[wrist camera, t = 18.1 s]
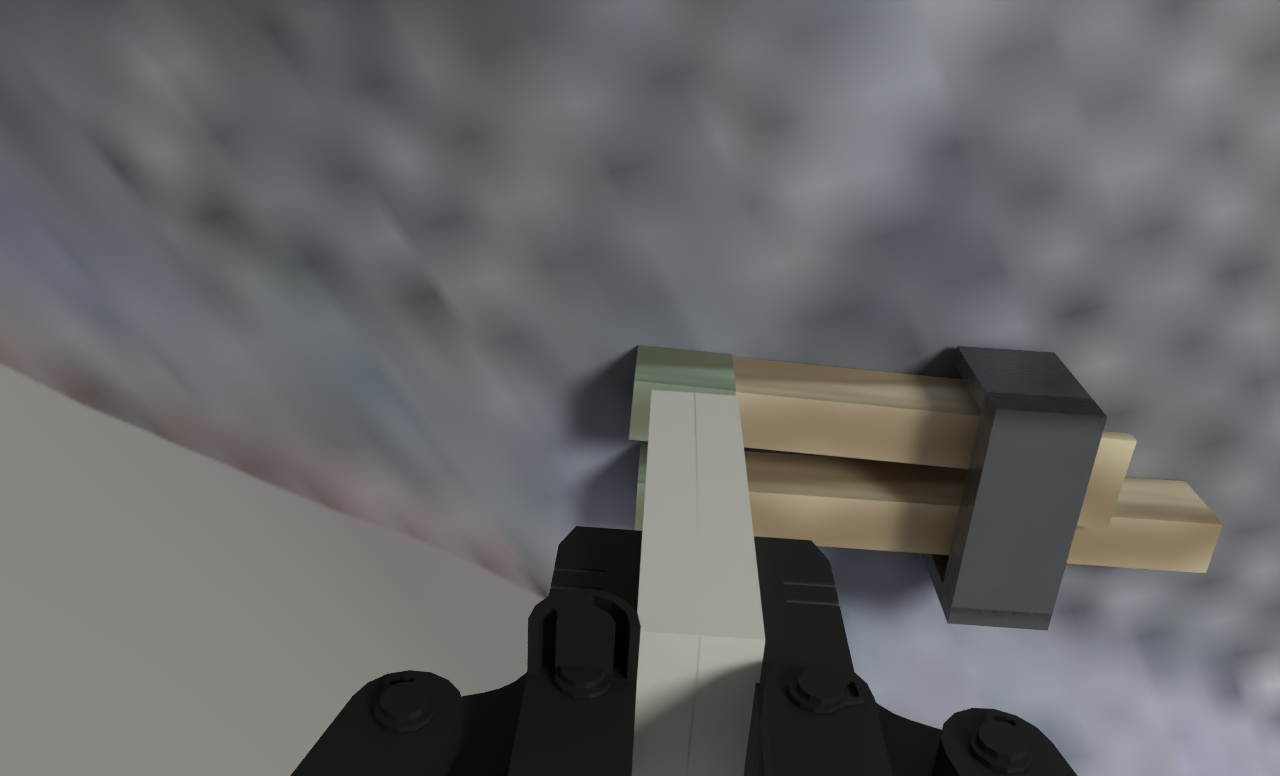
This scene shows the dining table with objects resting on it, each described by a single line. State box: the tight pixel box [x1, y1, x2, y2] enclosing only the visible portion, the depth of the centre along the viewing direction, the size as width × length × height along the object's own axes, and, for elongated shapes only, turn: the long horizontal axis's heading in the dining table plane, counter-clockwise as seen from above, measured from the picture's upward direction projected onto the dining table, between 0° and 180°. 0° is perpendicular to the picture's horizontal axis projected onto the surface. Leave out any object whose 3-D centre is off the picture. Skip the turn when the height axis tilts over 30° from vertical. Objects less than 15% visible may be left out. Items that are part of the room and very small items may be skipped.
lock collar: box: [922, 346, 1107, 630], centre depth 42 cm, size 10×4×6 cm, turn 177°
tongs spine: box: [634, 442, 1223, 573], centre depth 44 cm, size 5×24×4 cm, turn 87°
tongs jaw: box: [629, 345, 1137, 529], centre depth 43 cm, size 4×20×4 cm, turn 85°
